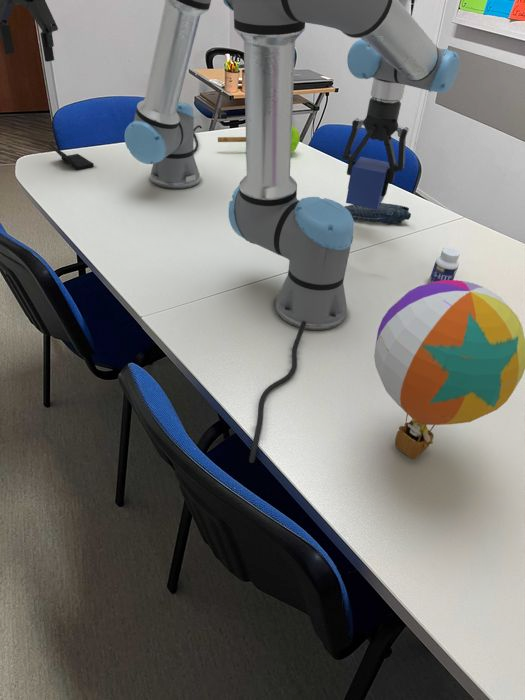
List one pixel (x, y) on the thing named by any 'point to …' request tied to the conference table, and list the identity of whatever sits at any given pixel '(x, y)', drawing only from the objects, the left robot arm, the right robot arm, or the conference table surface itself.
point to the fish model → (380, 213)
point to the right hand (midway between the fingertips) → (367, 190)
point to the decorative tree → (294, 139)
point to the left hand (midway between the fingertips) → (29, 57)
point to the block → (367, 182)
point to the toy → (448, 357)
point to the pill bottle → (445, 265)
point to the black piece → (74, 160)
